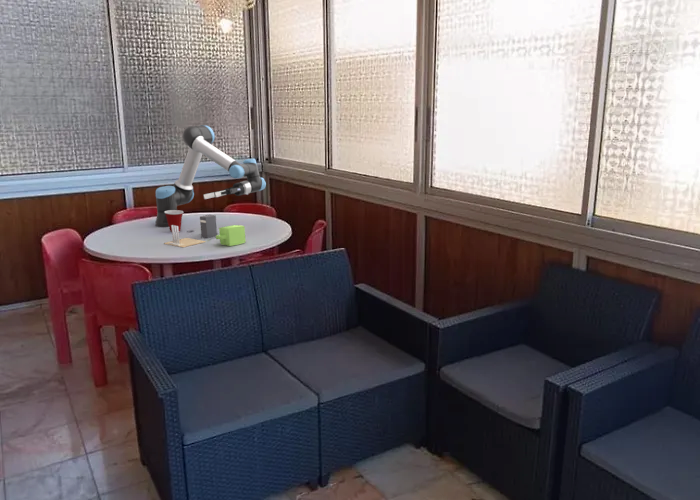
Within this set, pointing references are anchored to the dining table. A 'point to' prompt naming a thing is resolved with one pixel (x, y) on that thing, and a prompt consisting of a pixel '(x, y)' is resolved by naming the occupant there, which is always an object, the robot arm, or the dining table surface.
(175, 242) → the board
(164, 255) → the dining table surface
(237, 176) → the robot arm
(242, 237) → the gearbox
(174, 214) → the plastic cup
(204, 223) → the plug housing
